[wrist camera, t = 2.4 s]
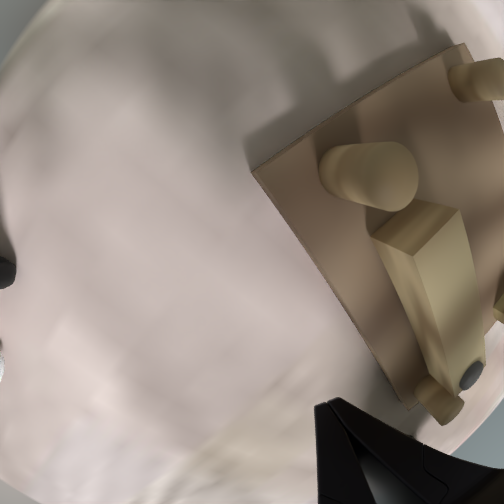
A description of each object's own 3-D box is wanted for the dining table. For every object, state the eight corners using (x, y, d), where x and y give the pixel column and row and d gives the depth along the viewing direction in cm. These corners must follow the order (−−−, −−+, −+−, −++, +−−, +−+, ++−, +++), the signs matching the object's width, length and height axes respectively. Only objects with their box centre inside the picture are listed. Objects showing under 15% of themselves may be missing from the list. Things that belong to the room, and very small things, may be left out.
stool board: (518, 272, 18) (554, 290, 14) (400, 401, 19) (432, 439, 14) (451, 46, 12) (505, 32, 7) (250, 172, 12) (283, 176, 8)
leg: (458, 344, 16) (488, 367, 13) (429, 373, 16) (457, 400, 13) (413, 198, 12) (464, 210, 9) (369, 236, 12) (417, 259, 9)
